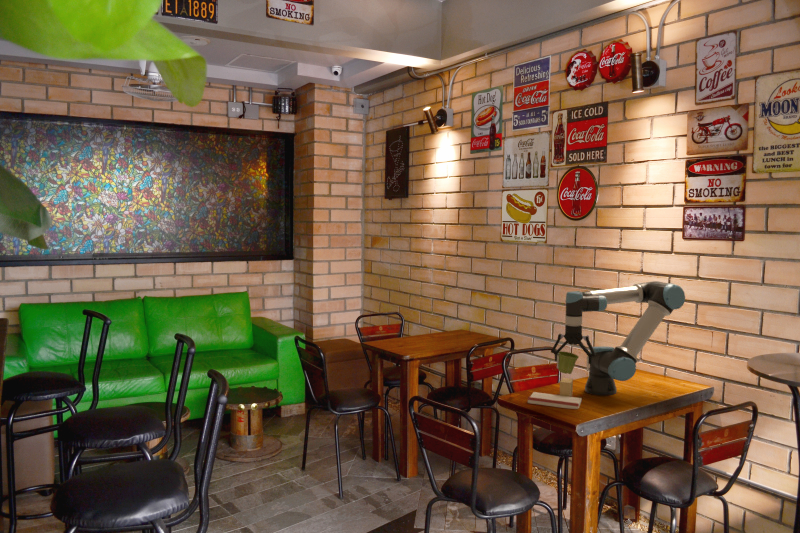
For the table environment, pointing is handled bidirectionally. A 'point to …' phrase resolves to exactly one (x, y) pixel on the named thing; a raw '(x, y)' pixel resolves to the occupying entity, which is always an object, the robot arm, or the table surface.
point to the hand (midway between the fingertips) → (572, 369)
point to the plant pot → (567, 362)
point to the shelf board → (555, 400)
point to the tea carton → (566, 387)
